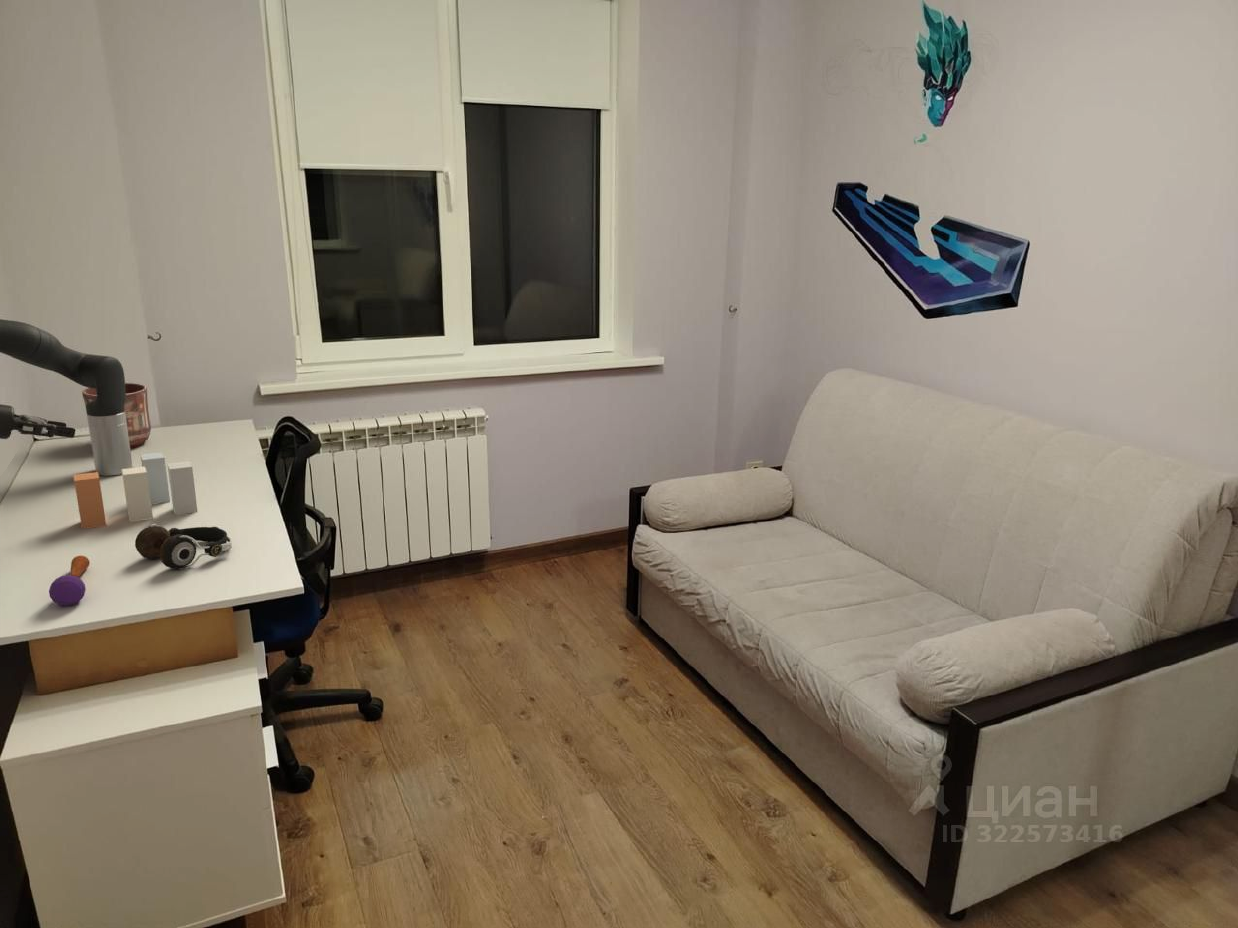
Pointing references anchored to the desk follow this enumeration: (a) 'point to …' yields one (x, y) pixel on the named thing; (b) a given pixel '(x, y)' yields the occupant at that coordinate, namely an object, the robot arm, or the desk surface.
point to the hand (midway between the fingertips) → (70, 430)
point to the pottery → (131, 412)
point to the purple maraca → (70, 584)
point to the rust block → (89, 500)
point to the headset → (180, 544)
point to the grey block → (182, 487)
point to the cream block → (137, 493)
